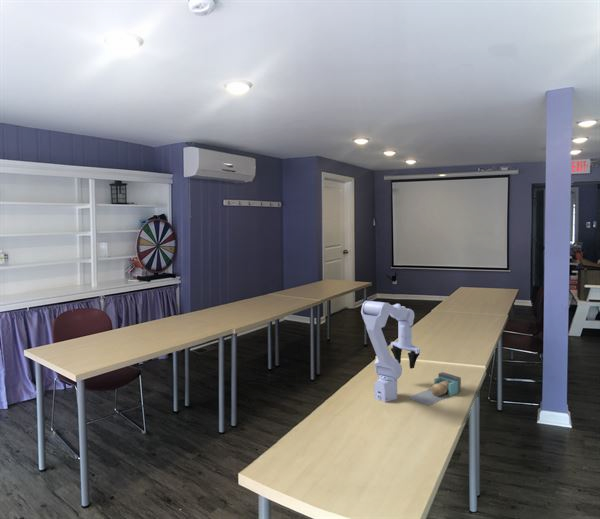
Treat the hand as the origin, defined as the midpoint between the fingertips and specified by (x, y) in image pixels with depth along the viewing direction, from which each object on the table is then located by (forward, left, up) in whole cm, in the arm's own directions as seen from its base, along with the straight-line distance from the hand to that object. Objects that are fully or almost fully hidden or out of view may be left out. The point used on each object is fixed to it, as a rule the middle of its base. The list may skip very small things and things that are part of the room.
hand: (405, 365), depth 198 cm
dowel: (+5, -15, -9) cm, 18 cm away
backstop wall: (+12, -14, -10) cm, 21 cm away
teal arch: (+8, -15, -9) cm, 20 cm away
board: (+1, -14, -10) cm, 17 cm away
